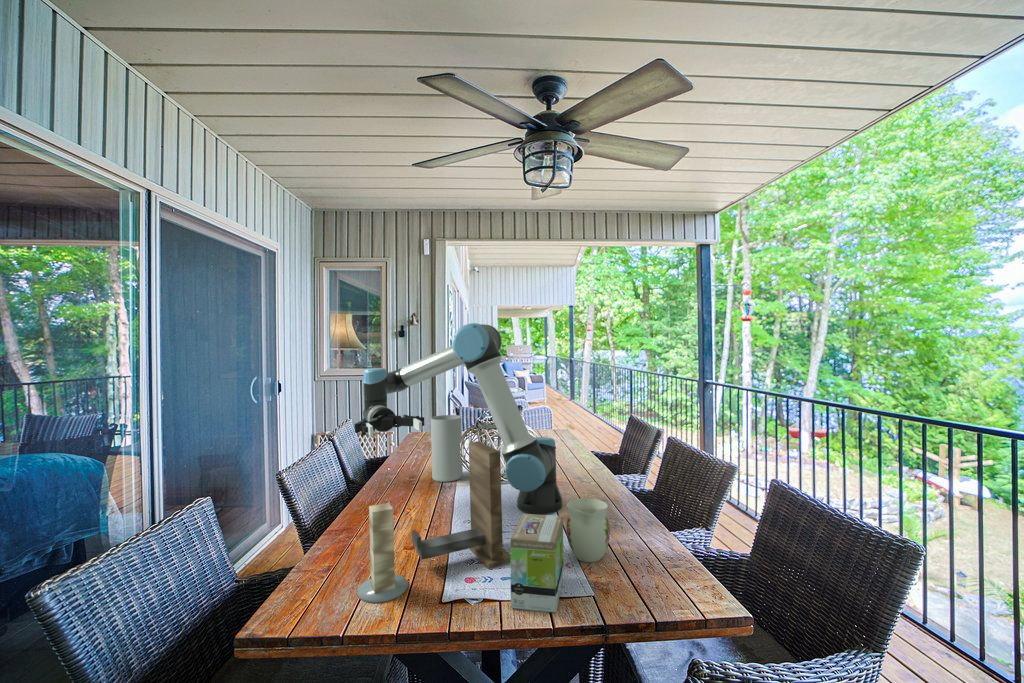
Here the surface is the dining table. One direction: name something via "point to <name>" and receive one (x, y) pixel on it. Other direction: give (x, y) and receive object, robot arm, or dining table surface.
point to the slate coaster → (369, 596)
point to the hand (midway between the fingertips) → (396, 428)
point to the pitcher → (588, 528)
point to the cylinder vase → (446, 448)
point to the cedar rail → (382, 547)
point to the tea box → (537, 563)
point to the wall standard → (476, 514)
